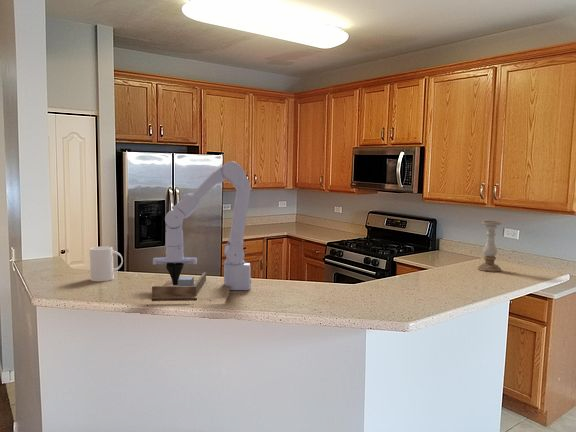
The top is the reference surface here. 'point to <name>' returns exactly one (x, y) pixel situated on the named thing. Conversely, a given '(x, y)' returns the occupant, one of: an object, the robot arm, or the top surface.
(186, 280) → the block
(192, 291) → the board
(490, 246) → the candle holder
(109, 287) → the top surface
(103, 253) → the mug
